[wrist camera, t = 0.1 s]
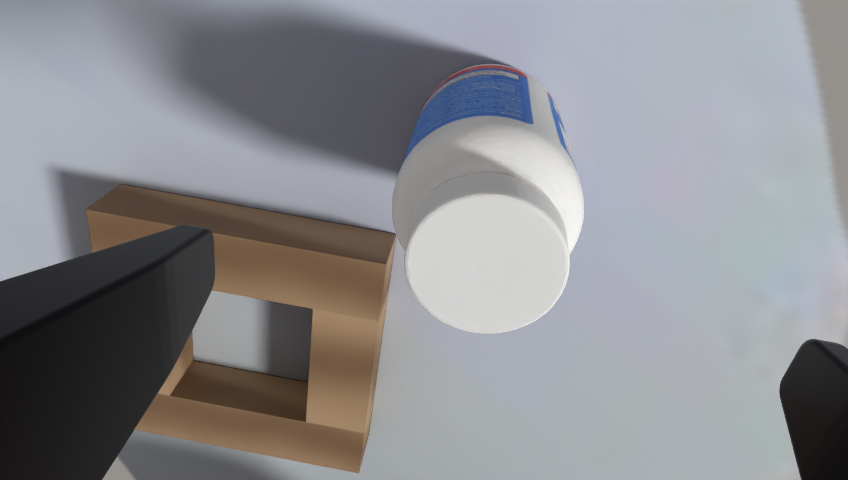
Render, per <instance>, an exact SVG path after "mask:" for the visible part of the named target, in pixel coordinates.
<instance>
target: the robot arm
mask: <svg viewBox="0 0 848 480" xmlns="http://www.w3.org/2000/svg"><path fill="white" fill-rule="evenodd" d="M214 281H215V253H214V237H213V233H212V231H211V230H210V229H208V228H205V227H199V226H194V225H188V224H183V225H180V226H176V227H173V228H170V229H167V230H164V231H160V232H157V233H154V234H151V235H148V236H144V237H141V238H138V239H135V240H132V241H128V242H125V243H122V244H119V245H116V246H112V247H109V248H106V249H103V250H100V251H96V252H93V253H90V254H87V255H84V256H80V257H77V258H74V259H71V260H68V261H64V262H61V263H58V264H55V265H52V266H48V267H45V268H42V269H39V270H36V271H32V272H29V273H26V274H23V275H20V276H16V277H13V278H10V279H7V280H4V281H0V480H102V479H103V477H104V476H105V474H106V473H107V471H108V469H109V468H110V466H111V465H112V463H113V462H114V460H115V459H116V457H117V456H118V454H119V453H120V451H121V449H122V448H123V446H124V445H125V443H126V442H127V440H128V439H129V437H130V435H131V434H132V432H133V431H134V429H135V428H136V426H137V425H138V423H139V422H140V420H141V418H142V417H143V415H144V414H145V412H146V411H147V409H148V408H149V406H150V404H151V403H152V401H153V400H154V398H155V397H156V395H157V394H158V392H159V391H160V389H161V387H162V386H163V384H164V383H165V381H166V380H167V378H168V376H169V375H170V373H171V371H172V370H173V368H174V366H175V364H176V362H177V360H178V358H179V356H180V355H181V352H182V350H183V348H184V346H185V344H186V342H187V340H188V338H189V336H190V334H191V332H192V330H193V328H194V326H195V324H196V322H197V320H198V317H199V315H200V313H201V311H202V309H203V307H204V305H205V303H206V301H207V299H208V297H209V295H210V293H211V291H212V288H213V285H214ZM780 399H781V403H782V407H783V411H784V415H785V419H786V422H787V426H788V430H789V434H790V438H791V442H792V446H793V450H794V454H795V458H796V462H797V466H798V469H799V473H800V477H801V480H848V349H847V348H846V347H844V346H842V345H840V344H838V343H834V342H828V341H823V340H817V339H810V340H807V341H806V342H804V343H803V344H802V345H801V347H800V348H799V350H798V352H797V354H796V355H795V357H794V359H793V361H792V362H791V364H790V366H789V368H788V369H787V371H786V373H785V374H784V376H783V378H782V380H781V384H780Z"/></svg>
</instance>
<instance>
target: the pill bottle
mask: <svg viewBox="0 0 848 480" xmlns="http://www.w3.org/2000/svg"><path fill="white" fill-rule="evenodd" d="M583 216H584V200H583V193H582V188H581V184H580V180H579V176H578V173H577V169H576V166H575V163H574V159H573V156H572V152H571V149H570V146H569V142H568V139H567V136H566V133H565V130H564V127H563V124H562V120H561V117H560V114H559V112H558V109H557V107H556V105H555V103H554V101H553V99H552V98H551V96H550V94H549V93H548V92H547V91H546V89H545V88H544V87H543V86H542V85H541V84H540V83H539V82H538V81H537V80H536V79H534V78H533V77H531V76H530V75H528V74H527V73H525V72H523V71H521V70H519V69H516V68H513V67H510V66H506V65H500V64H481V65H475V66H471V67H468V68H465V69H462V70H460V71H458V72H456V73H454V74H452V75H451V76H449V77H448V78H446V79H445V80H443V81H442V82H441V83H440V84H439V85H438V86H437V87H436V88H435V89H434V90H433V91H432V93H431V94H430V95H429V97H428V98H427V100H426V102H425V104H424V105H423V107H422V109H421V111H420V114H419V117H418V120H417V123H416V126H415V129H414V131H413V134H412V137H411V140H410V143H409V145H408V148H407V151H406V154H405V157H404V160H403V162H402V165H401V168H400V171H399V174H398V177H397V181H396V184H395V188H394V193H393V201H392V217H393V223H394V227H395V231H396V234H397V237H398V239H399V241H400V244H401V245H402V247H403V249H404V251H405V254H404V267H405V273H406V278H407V281H408V284H409V286H410V289H411V291H412V293H413V295H414V296H415V298H416V299H417V300H418V302H419V303H420V304H421V305H422V306H423V307H424V308H425V309H426V310H427V311H428V312H429V313H430V314H431V315H433V316H434V317H435V318H437V319H438V320H440V321H441V322H444V323H446V324H448V325H450V326H452V327H454V328H457V329H461V330H464V331H468V332H474V333H501V332H507V331H512V330H515V329H518V328H521V327H523V326H526V325H528V324H530V323H532V322H534V321H536V320H537V319H538V318H540V317H541V316H542V315H544V314H545V313H546V312H548V311H549V310H550V308H551V307H552V306H553V305H554V304H555V303H556V301H557V300H558V299H559V297H560V295H561V294H562V292H563V290H564V288H565V285H566V282H567V279H568V274H569V268H570V258H569V254H570V253H571V251H572V250H573V248H574V246H575V244H576V242H577V240H578V237H579V234H580V231H581V228H582V223H583Z"/></svg>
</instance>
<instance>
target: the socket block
mask: <svg viewBox="0 0 848 480" xmlns="http://www.w3.org/2000/svg"><path fill="white" fill-rule="evenodd" d="M86 214H87V221H88V228H89V234H90V241H91V247H92V253H93V252H96V251H100V250H103V249H106V248H109V247H112V246H116V245H119V244H122V243H125V242H128V241H132V240H135V239H138V238H141V237H144V236H148V235H151V234H154V233H157V232H160V231H164V230H167V229H170V228H173V227H176V226H180V225H183V224H188V225H194V226H199V227H205V228H208V229H210V230H211V231H212V233H213V237H214V253H215V281H214V285H213V288H212V290H214V291H219V292H225V293H230V294H235V295H241V296H246V297H252V298H257V299H262V300H268V301H273V302H278V303H284V304H289V305H295V306H300V307H305V308H311V309H313V316H312V332H311V348H310V364H309V380H308V382H303V381H297V380H292V379H287V378H282V377H276V376H271V375H266V374H260V373H255V372H250V371H245V370H239V369H234V368H229V367H224V366H218V365H213V364H208V363H203V362H197V361H194V359H193V342H192V332H191V334H190V336H189V338H188V340H187V342H186V344H185V346H184V348H183V350H182V352H181V355H180V356H179V358H178V360H177V362H176V364H175V366H174V368H173V370H172V371H171V373H170V375H169V376H168V378H167V380H166V381H165V383H164V384H163V386H162V387H161V389H160V391H159V392H158V394H157V395H156V397H155V398H154V400H153V401H152V403H151V404H150V406H149V408H148V409H147V411H146V412H145V414H144V415H143V417H142V418H141V420H140V422H139V423H138V425H137V426H136V428H135V429H134V430H139V431H145V432H150V433H155V434H160V435H165V436H170V437H175V438H180V439H186V440H191V441H196V442H201V443H206V444H211V445H216V446H222V447H227V448H232V449H237V450H242V451H247V452H252V453H258V454H263V455H268V456H273V457H278V458H283V459H288V460H294V461H299V462H304V463H309V464H314V465H319V466H324V467H330V468H335V469H340V470H345V471H350V472H355V473H359V471H360V467H361V463H362V459H363V455H364V452H365V448H366V444H367V440H368V436H369V430H370V423H371V416H372V408H373V401H374V394H375V386H376V379H377V372H378V364H379V357H380V350H381V342H382V335H383V328H384V320H385V313H386V306H387V298H388V291H389V284H390V276H391V269H392V262H393V254H394V247H395V240H396V234H392V233H387V232H381V231H376V230H370V229H365V228H359V227H354V226H348V225H343V224H337V223H332V222H326V221H321V220H315V219H310V218H304V217H299V216H293V215H288V214H282V213H277V212H271V211H266V210H260V209H255V208H249V207H244V206H238V205H233V204H227V203H222V202H216V201H211V200H205V199H199V198H194V197H188V196H183V195H177V194H172V193H166V192H161V191H155V190H150V189H144V188H139V187H133V186H128V185H122V184H121V185H119V186H118V187H117V188H115V189H114V190H112V191H111V192H110V193H108V194H107V195H105V196H104V197H103V198H101V199H100V200H98V201H97V202H96V203H94V204H93V205H91V206H90V207H89V208H87V209H86Z"/></svg>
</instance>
